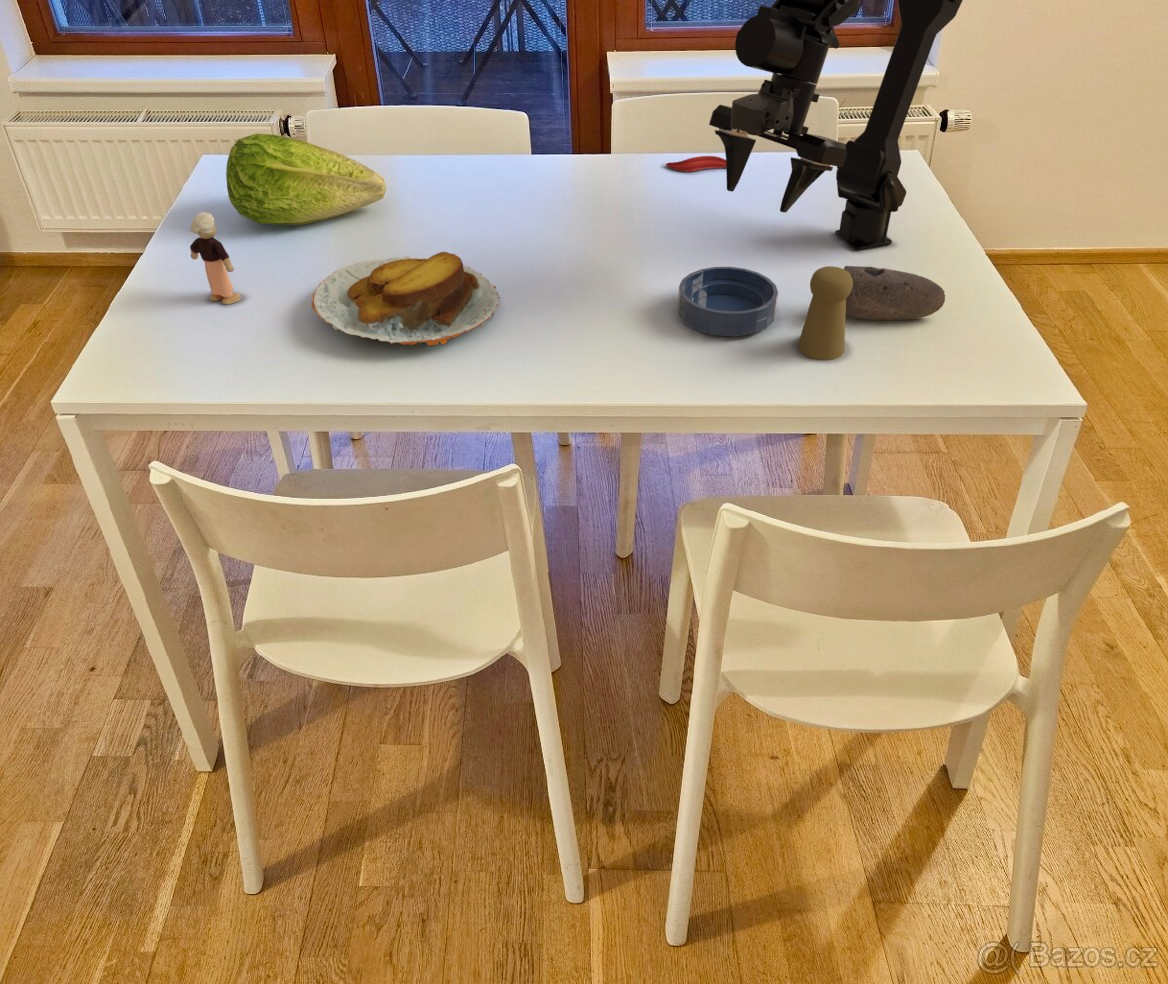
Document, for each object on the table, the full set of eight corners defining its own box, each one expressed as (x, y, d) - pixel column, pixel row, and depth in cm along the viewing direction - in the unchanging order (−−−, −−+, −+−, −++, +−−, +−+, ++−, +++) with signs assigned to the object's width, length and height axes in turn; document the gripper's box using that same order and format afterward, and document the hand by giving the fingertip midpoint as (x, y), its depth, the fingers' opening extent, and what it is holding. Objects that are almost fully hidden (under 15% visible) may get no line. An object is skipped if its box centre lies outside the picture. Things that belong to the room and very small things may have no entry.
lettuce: (384, 241, 162) (385, 151, 156) (222, 229, 158) (217, 137, 152) (387, 220, 175) (388, 136, 169) (238, 209, 171) (234, 122, 165)
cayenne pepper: (663, 169, 181) (664, 159, 180) (667, 159, 184) (667, 149, 183) (732, 174, 179) (733, 163, 178) (734, 164, 182) (735, 153, 181)
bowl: (747, 285, 148) (750, 260, 145) (791, 329, 138) (795, 303, 136) (663, 301, 145) (664, 275, 142) (701, 347, 135) (704, 320, 132)
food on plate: (336, 269, 153) (329, 228, 149) (503, 269, 153) (501, 227, 148) (298, 360, 133) (289, 315, 129) (491, 360, 133) (488, 315, 129)
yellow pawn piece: (844, 362, 132) (858, 285, 125) (796, 357, 133) (807, 280, 126) (844, 338, 136) (858, 262, 130) (798, 333, 137) (809, 258, 130)
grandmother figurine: (253, 295, 147) (233, 211, 139) (238, 308, 144) (217, 223, 136) (207, 287, 149) (185, 204, 141) (191, 299, 146) (168, 215, 138)
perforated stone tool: (937, 310, 142) (948, 264, 138) (943, 330, 138) (954, 283, 134) (827, 304, 144) (834, 258, 139) (829, 323, 140) (837, 276, 135)
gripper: (701, 52, 130) (666, 176, 136) (818, 87, 119) (775, 220, 125) (753, 65, 138) (718, 182, 144) (868, 100, 127) (824, 224, 133)
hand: (755, 201), depth 136 cm, fingers open, 9 cm apart
